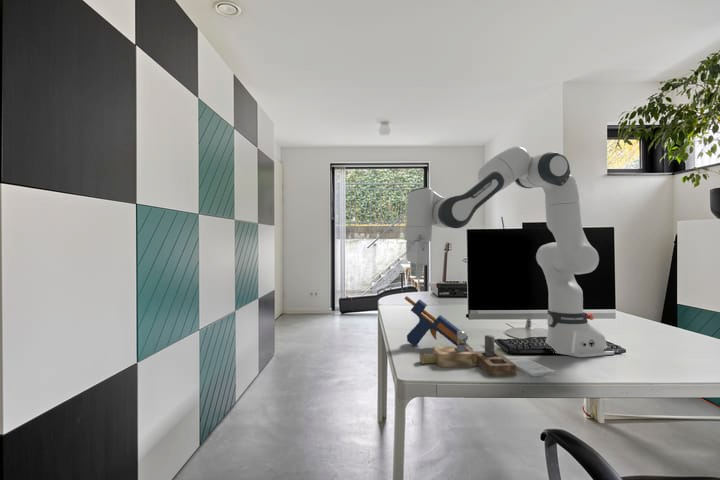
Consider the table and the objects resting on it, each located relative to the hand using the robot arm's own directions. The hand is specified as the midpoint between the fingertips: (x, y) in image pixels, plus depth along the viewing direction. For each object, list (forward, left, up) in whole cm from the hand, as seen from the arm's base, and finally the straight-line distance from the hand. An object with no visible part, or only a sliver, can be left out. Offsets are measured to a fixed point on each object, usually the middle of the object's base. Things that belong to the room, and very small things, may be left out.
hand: (415, 276), depth 136 cm
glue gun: (-11, -16, -28) cm, 34 cm away
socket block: (-12, +3, -28) cm, 31 cm away
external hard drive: (-34, +11, -29) cm, 46 cm away
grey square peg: (-15, +3, -28) cm, 32 cm away
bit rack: (-23, +9, -28) cm, 37 cm away
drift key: (-5, +3, -28) cm, 28 cm away
